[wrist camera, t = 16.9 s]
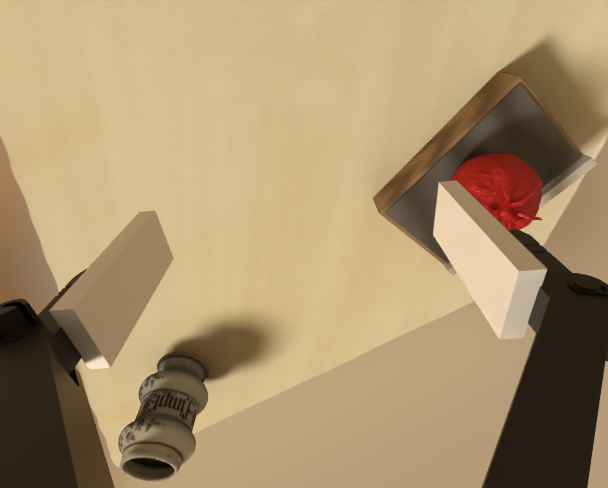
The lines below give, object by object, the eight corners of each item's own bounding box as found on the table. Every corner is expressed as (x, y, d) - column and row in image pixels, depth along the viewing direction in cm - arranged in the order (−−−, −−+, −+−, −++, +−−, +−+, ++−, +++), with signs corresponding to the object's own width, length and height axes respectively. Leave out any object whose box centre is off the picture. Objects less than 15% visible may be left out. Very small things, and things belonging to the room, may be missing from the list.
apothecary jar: (203, 394, 70) (175, 495, 55) (145, 377, 67) (98, 479, 52) (223, 360, 64) (198, 461, 49) (160, 340, 61) (113, 442, 46)
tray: (498, 71, 38) (527, 77, 33) (562, 148, 43) (597, 164, 38) (372, 198, 46) (381, 218, 41) (438, 251, 51) (453, 275, 46)
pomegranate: (453, 137, 37) (493, 165, 29) (536, 152, 38) (597, 182, 30) (422, 215, 42) (449, 257, 34) (496, 227, 43) (539, 270, 35)
